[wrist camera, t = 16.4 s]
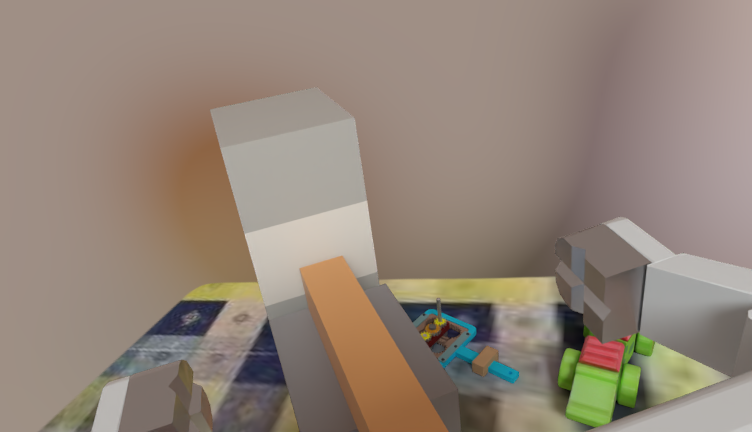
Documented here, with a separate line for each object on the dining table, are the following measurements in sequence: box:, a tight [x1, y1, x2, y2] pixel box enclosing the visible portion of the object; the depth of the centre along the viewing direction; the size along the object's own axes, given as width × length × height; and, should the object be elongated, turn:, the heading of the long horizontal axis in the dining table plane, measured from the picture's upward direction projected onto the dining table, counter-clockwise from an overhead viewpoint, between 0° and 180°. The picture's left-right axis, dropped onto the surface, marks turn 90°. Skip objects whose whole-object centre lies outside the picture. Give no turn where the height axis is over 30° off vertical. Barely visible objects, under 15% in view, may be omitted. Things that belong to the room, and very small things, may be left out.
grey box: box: [269, 284, 461, 432], centre depth 40 cm, size 10×13×14 cm
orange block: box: [299, 256, 449, 432], centre depth 33 cm, size 4×20×4 cm, turn 20°
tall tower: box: [210, 87, 379, 320], centre depth 49 cm, size 10×12×28 cm
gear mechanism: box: [413, 298, 519, 383], centre depth 56 cm, size 20×5×9 cm
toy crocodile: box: [558, 326, 655, 428], centre depth 49 cm, size 20×7×6 cm, turn 145°
